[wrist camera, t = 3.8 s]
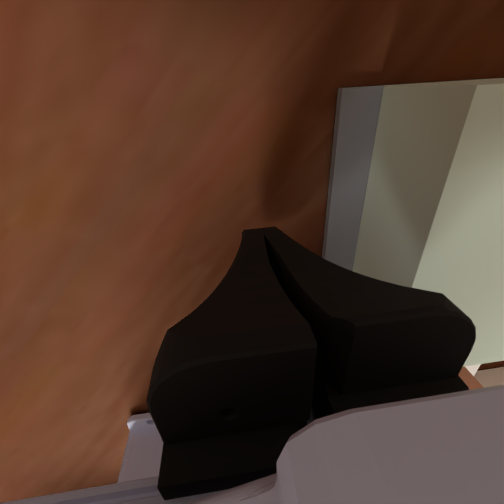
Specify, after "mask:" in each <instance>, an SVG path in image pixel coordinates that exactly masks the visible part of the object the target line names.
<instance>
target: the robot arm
mask: <svg viewBox="0 0 504 504" xmlns="http://www.w3.org/2000/svg"><path fill="white" fill-rule="evenodd" d="M475 340H476V327H475V325H474V323H473V322H472V320H471V319H470V318H469V317H468V316H467V315H466V314H465V313H464V312H463V311H461V310H460V309H459V308H458V307H457V306H456V305H455V304H454V303H453V302H452V301H450V300H449V299H448V298H447V297H446V296H445V295H444V294H442V293H437V292H432V291H427V290H421V289H416V288H411V287H405V286H401V285H397V284H393V283H389V282H385V281H381V280H378V279H374V278H371V277H368V276H365V275H362V274H359V273H356V272H353V271H351V270H348V269H346V268H343V267H341V266H338V265H336V264H334V263H332V262H330V261H327V260H325V259H324V258H322V257H320V256H318V255H316V254H314V253H313V252H311V251H309V250H308V249H306V248H304V247H303V246H301V245H300V244H298V243H297V242H295V241H294V240H293V239H291V238H290V237H288V236H287V235H286V234H284V233H283V232H282V231H280V230H279V229H277V228H276V227H268V228H258V229H249V230H244V231H243V232H242V240H241V244H240V247H239V250H238V253H237V255H236V257H235V259H234V261H233V263H232V265H231V267H230V269H229V271H228V272H227V274H226V275H225V277H224V278H223V280H222V281H221V283H220V284H219V285H218V286H217V288H216V289H215V290H214V291H213V293H212V294H211V295H210V296H209V297H208V298H207V299H206V300H205V301H204V302H203V303H202V304H201V305H200V306H199V307H198V308H197V309H195V310H194V311H193V312H192V313H191V314H189V315H188V316H187V317H185V318H184V319H182V320H181V321H180V322H178V323H177V324H176V325H174V326H173V327H171V328H170V329H168V331H167V332H166V335H165V337H164V339H163V342H162V344H161V347H160V349H159V352H158V355H157V358H156V360H155V364H154V367H153V371H152V376H151V381H150V386H149V391H148V396H147V405H148V410H149V413H143V414H137V415H132V416H130V417H129V418H128V422H127V426H128V427H129V429H130V432H129V436H128V440H127V444H126V448H125V453H124V457H123V461H122V465H121V469H120V473H119V478H118V482H117V483H115V484H109V485H103V486H97V487H91V488H85V489H79V490H73V491H68V492H62V493H56V494H50V495H44V496H38V497H32V498H26V499H21V500H15V501H9V502H3V503H0V504H504V385H498V386H491V387H485V388H479V389H473V390H469V388H468V386H467V385H466V384H465V383H464V381H463V380H462V379H461V378H460V377H459V375H458V374H459V372H460V371H461V369H462V367H463V365H464V363H465V361H466V360H467V358H468V356H469V354H470V352H471V351H472V348H473V345H474V343H475Z"/></svg>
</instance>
